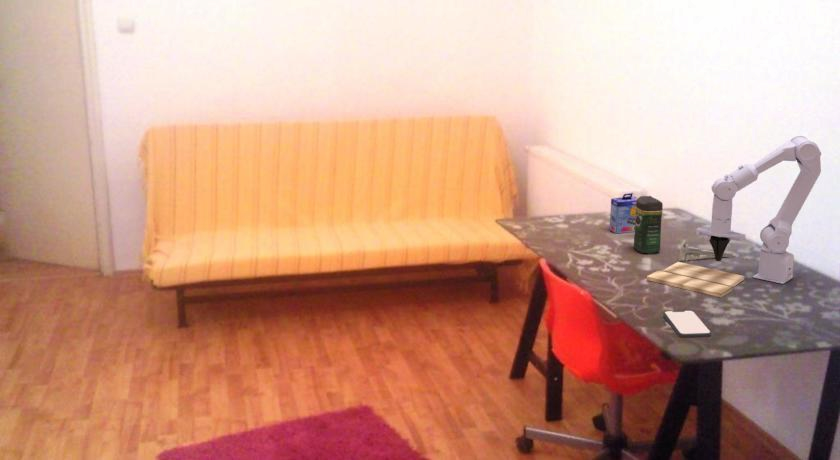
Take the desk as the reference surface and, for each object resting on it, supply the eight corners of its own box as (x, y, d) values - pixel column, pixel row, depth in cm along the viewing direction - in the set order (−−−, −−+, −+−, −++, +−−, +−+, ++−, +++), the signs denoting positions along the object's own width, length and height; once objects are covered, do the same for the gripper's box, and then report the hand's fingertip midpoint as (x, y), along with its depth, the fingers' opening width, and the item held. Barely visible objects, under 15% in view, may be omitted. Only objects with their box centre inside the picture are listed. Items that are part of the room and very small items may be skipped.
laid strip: (732, 290, 265) (732, 286, 264) (720, 297, 259) (721, 293, 259) (659, 273, 280) (659, 269, 280) (646, 280, 275) (646, 276, 274)
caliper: (680, 263, 291) (681, 244, 289) (678, 262, 292) (679, 243, 290) (736, 257, 295) (737, 239, 294) (734, 256, 296) (735, 238, 295)
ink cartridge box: (616, 234, 323) (617, 195, 319) (608, 230, 328) (610, 192, 324) (640, 231, 326) (642, 193, 322) (632, 227, 331) (634, 189, 327)
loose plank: (744, 279, 273) (744, 275, 272) (729, 289, 266) (730, 285, 265) (677, 265, 287) (677, 261, 287) (662, 273, 280) (662, 270, 280)
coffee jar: (663, 253, 300) (666, 200, 294) (640, 255, 299) (643, 201, 294) (652, 245, 309) (655, 193, 304) (630, 246, 308) (633, 194, 303)
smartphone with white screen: (713, 339, 232) (693, 315, 247) (713, 333, 231) (693, 309, 247) (679, 340, 232) (661, 316, 247) (679, 334, 231) (661, 310, 247)
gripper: (749, 218, 270) (746, 260, 274) (702, 211, 279) (700, 253, 283) (742, 223, 265) (739, 266, 269) (694, 216, 273) (692, 258, 277)
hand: (718, 260), depth 275 cm, fingers closed
